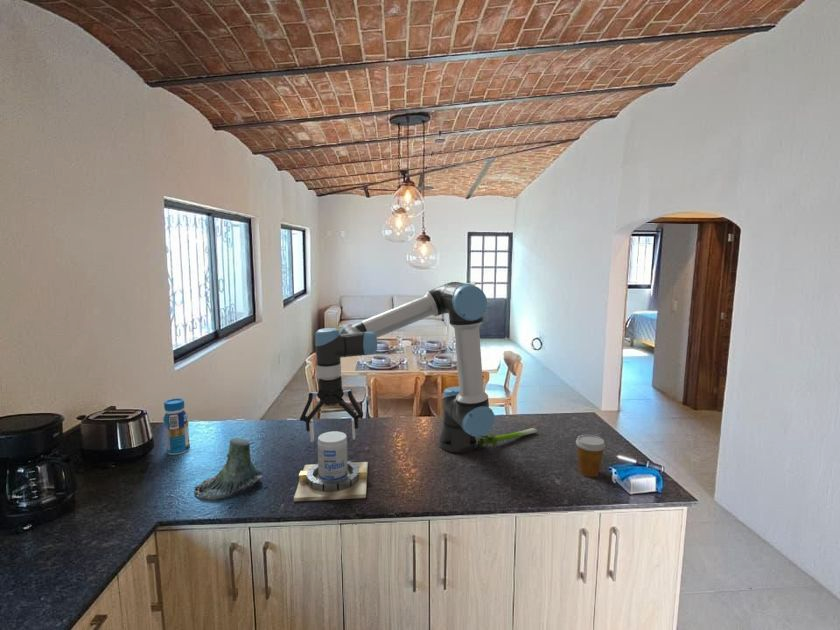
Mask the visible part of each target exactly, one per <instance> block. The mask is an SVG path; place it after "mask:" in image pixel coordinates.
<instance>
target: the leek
mask: <svg viewBox="0 0 840 630" xmlns="http://www.w3.org/2000/svg"><path fill="white" fill-rule="evenodd" d="M535 433H536V434H537V433H538V430H537V428H535V427H531V428H528V429H527V428H526V429H524V430H520V431H517V432H511V433H507V434H500V435H493V434H491V433H489V435H490V436H489V435H483V436H479V437H480V438H477V445H479V446H480V447H481V448H484V447H488V446H489V445H490V444H492V448H493V449H495V448H496V446H497V442H500V441H501V442H502V441H505V440H508V439H515V438H519V437H523V436H527V435H531V434H535Z"/></svg>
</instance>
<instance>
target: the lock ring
mask: <svg viewBox="0 0 840 630" xmlns="http://www.w3.org/2000/svg"><path fill="white" fill-rule="evenodd" d="M355 463H356V462H353V461H349V460H347V464H348V471H349V472H350V473H352V474H351V475H350V476H348V477H347V478H345V479H341V480H338V481H322V480H318V479H316V478H315V476H316V475H318V474H319V472H318V462H317V463H315V464H316V465H314V466H313V467H311V468H310V469H309V470H308V471H303V470H300V472H299V474H298V477H299V478H298V480H299V481H298V483H299V482H307V484H308V485H309V487H310V488H311V489H313V490H317V491H321V492H323V491H324V492H337V490H338V491H341V490H344V489H347V488H350V486H351V487H352V486H353V485H354V484H356V483H357V482H358V480H361V479H366V475H367V476H368V472H367V473H366V468H359V467H358V466H357V465H356V464H355Z"/></svg>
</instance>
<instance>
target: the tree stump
mask: <svg viewBox="0 0 840 630" xmlns="http://www.w3.org/2000/svg"><path fill="white" fill-rule="evenodd" d="M228 449H229V450H228V453H227V454H226V457H227V460H226V463H225V464H224V465H223V467H222V468H221V470H220V471H219V472H218V473H217V474H216V475H214V476H212V477H209V478H206V479H205V480H203V481H202V482H201V483H199V484H198V485H197V486H194V494H195V497H196V498H198V499H200V500H202V501H209V502H216V501H217V502H218V501H223V500H226V499H229V498H232V497H234V496H235V497H236V496H237V495H239V494H242V493H243V492H245V491H246V492H247V491H248V490H250V489H251V488H252V487H254V486H255V484H257V483H258V482H259V481H260V480H261V479H262V478H263V472H261V470H260V469H257V468H256V466H255V465H254V463H253V462H252V460H251V459H252V458H251V452H250V451H251V449H250V441H248V440H246V439H243V438H239V437H237V438H235V437H234V438H231V439H230V440H229V448H228Z"/></svg>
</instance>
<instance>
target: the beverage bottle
mask: <svg viewBox="0 0 840 630" xmlns="http://www.w3.org/2000/svg"><path fill="white" fill-rule="evenodd" d="M163 405H164V411H165V413H164V416H163V420H162V421H163V422H164V424H163V430H164V438H165V440H164V441H165V447H166V448H165V452H166V453H167V454H168V455H172V456H176V455H177V456H178V455H181V454H184V453H187V452H188V451H189V450H190V448H191V444H190V433H189V421H188V414H187V412H186V411H185V400H184V399H183V398H171V399H167V400H165V401H164V402H163Z"/></svg>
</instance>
